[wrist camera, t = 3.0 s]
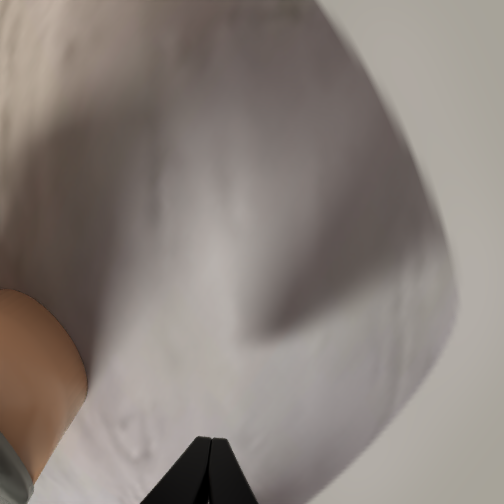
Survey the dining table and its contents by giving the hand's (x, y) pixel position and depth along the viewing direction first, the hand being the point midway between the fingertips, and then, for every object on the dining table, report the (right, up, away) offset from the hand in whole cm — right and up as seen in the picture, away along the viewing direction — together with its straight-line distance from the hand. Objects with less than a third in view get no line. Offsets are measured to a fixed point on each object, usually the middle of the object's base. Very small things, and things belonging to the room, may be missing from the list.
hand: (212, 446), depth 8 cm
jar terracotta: (-8, +1, +2) cm, 8 cm away
